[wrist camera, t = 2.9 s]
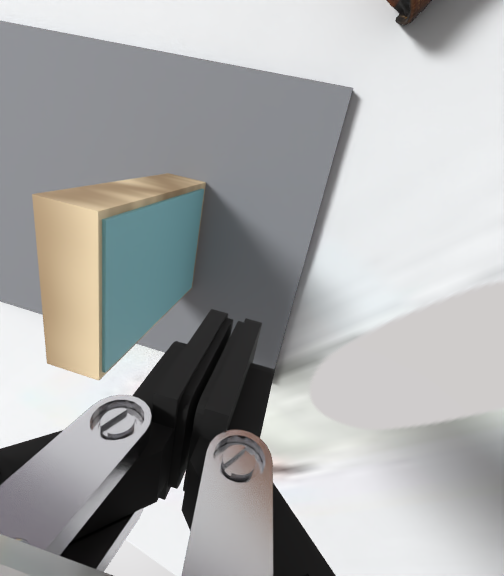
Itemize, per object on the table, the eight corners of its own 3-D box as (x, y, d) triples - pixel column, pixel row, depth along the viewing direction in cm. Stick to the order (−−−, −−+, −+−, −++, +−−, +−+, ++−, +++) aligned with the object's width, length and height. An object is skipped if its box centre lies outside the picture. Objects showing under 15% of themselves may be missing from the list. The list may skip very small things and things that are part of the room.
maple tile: (208, 182, 20) (102, 212, 11) (194, 288, 22) (102, 381, 13) (168, 173, 20) (31, 194, 11) (159, 278, 23) (47, 363, 14)
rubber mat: (352, 89, 17) (353, 87, 16) (271, 379, 25) (270, 385, 24) (-50, 13, 20) (-61, 9, 19) (-6, 294, 28) (-13, 297, 27)
